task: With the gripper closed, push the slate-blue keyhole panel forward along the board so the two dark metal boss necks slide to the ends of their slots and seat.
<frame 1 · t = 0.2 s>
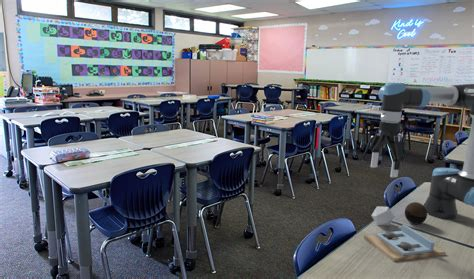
hand: (383, 171, 149), 28 cm above the table, fingers open, 13 cm apart
board: (402, 246, 145), on the table
die: (381, 224, 165), on the table
toy: (413, 223, 167), on the table
panel: (404, 238, 144), point 3 cm above the table, slide at 0.0 cm
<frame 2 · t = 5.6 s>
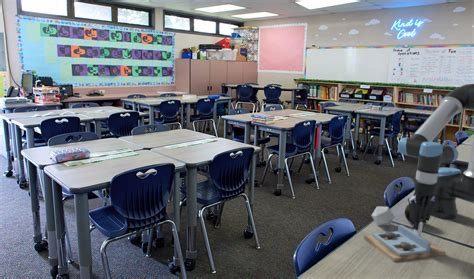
hand: (416, 236, 146), 4 cm above the table, fingers closed
panel: (400, 239, 144), point 3 cm above the table, slide at 1.7 cm, touching gripper
everything else where it was.
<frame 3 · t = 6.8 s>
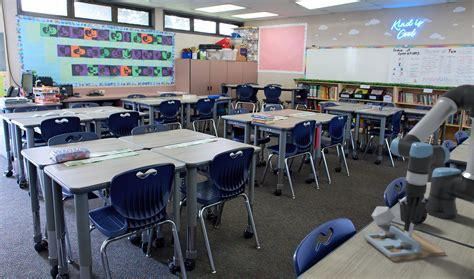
hand: (407, 238, 145), 3 cm above the table, fingers closed
panel: (391, 240, 142), point 3 cm above the table, slide at 6.1 cm, touching gripper
everything else where it was.
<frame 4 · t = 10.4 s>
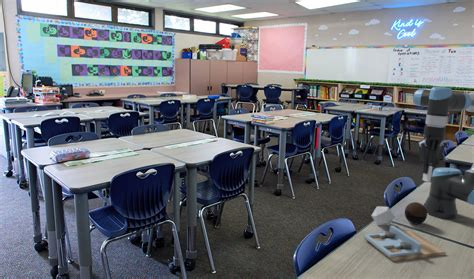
hand: (426, 180, 151), 24 cm above the table, fingers closed
panel: (391, 240, 142), point 3 cm above the table, slide at 6.0 cm
everything else where it was.
at the end: panel slide at 6.0 cm; panel touching nothing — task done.
